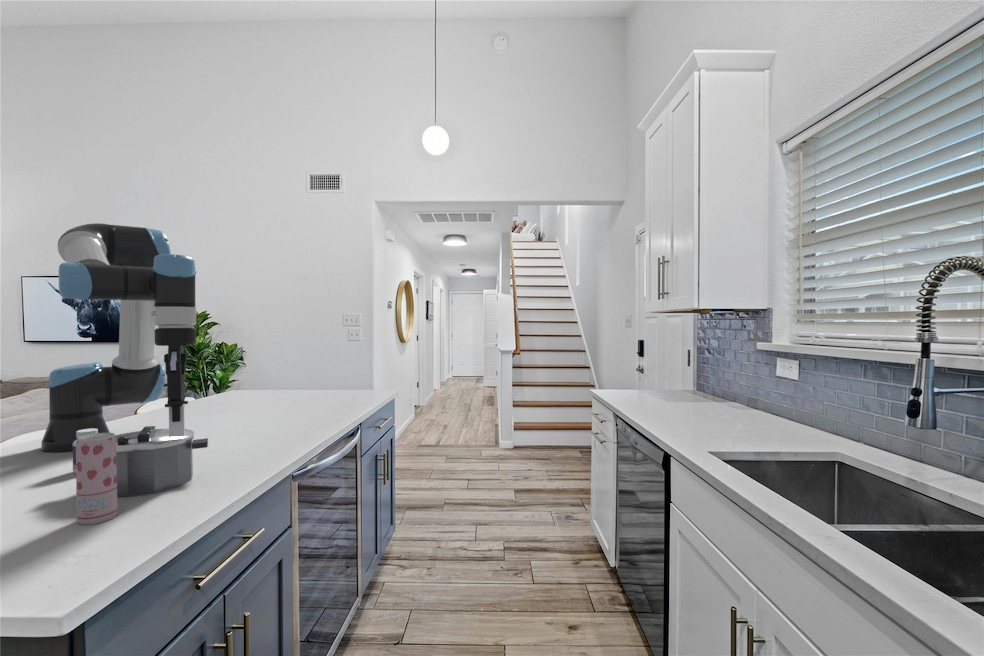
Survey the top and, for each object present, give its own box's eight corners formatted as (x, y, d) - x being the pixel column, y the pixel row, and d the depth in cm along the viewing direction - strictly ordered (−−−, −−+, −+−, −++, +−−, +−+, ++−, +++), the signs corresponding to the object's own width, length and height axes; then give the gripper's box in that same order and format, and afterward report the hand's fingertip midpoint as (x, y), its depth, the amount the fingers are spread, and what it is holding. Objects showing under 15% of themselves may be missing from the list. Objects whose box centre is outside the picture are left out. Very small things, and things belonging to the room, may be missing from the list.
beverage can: (71, 527, 83) (69, 441, 83) (83, 515, 89) (82, 434, 88) (111, 521, 86) (110, 437, 85) (121, 510, 91) (120, 431, 91)
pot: (90, 480, 108) (90, 440, 108) (209, 465, 119) (209, 429, 119) (68, 505, 93) (67, 459, 93) (206, 485, 104) (205, 444, 104)
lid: (106, 437, 110) (106, 426, 110) (196, 429, 119) (196, 418, 118) (85, 457, 94) (84, 444, 94) (191, 446, 103) (190, 434, 102)
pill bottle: (85, 474, 112) (84, 433, 112) (66, 473, 113) (66, 432, 113) (108, 468, 118) (107, 428, 117) (90, 466, 119) (89, 427, 118)
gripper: (158, 326, 108) (160, 431, 108) (149, 327, 97) (151, 444, 97) (197, 326, 112) (199, 428, 112) (193, 327, 100) (195, 440, 101)
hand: (177, 435), depth 105 cm, fingers closed
